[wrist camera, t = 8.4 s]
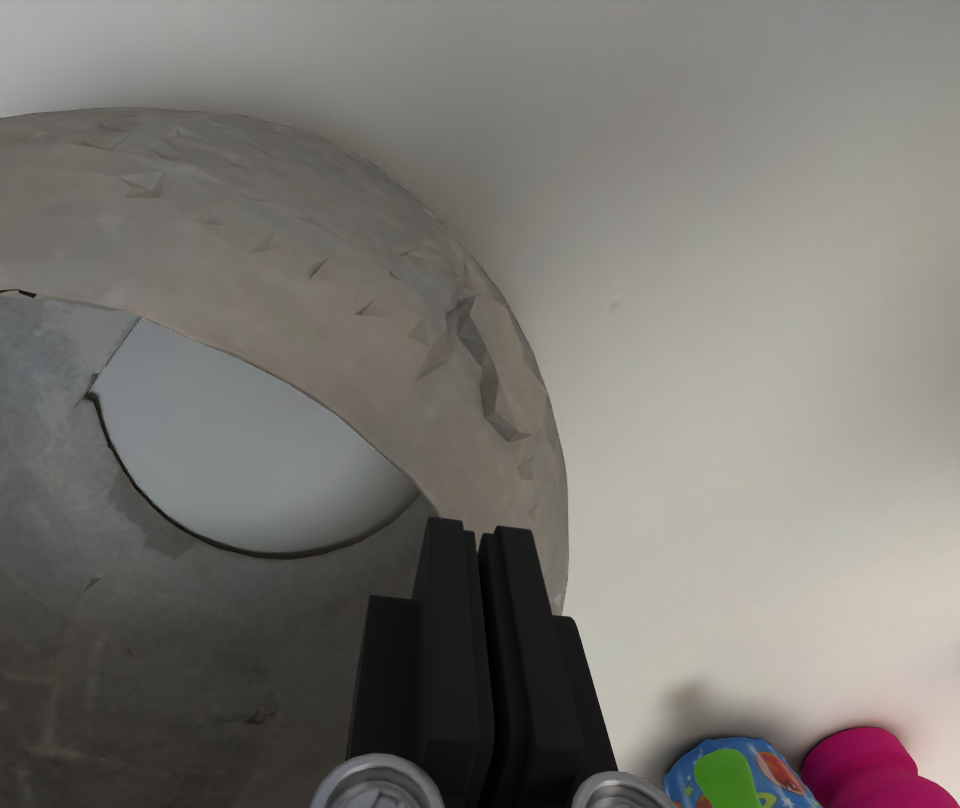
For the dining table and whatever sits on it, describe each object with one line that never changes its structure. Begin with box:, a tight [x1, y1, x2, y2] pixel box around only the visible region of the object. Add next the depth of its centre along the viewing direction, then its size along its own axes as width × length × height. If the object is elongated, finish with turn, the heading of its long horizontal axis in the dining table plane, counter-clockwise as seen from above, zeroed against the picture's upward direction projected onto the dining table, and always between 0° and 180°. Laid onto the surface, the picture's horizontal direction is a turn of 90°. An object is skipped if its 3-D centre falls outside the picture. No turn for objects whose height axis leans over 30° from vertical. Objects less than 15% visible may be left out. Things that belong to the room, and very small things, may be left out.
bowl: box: [0, 107, 569, 808], centre depth 20 cm, size 23×23×15 cm
